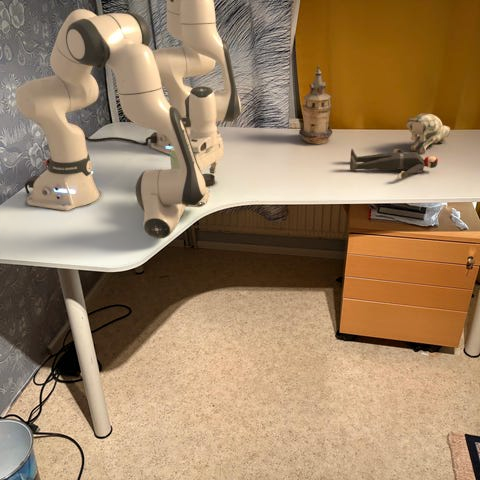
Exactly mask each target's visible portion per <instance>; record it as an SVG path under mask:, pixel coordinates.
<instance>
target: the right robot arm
mask: <svg viewBox="0 0 480 480" xmlns="http://www.w3.org/2000/svg"><path fill="white" fill-rule="evenodd" d="M215 9H216V7H215V3H214V0H166V30H167V32H168V34H169V35H170V36H171V37H172V38H174V39H175V40H178V41H180V42H181V45H179V46H170V47H160V48H157V49H154V50H151V51H152V53H153V55H154V58H155V61H156V64H157V67H158V71H159V75H160V79H161V84H162V87H164V89H165V90H166V93H167V96H168V103H169V104H170V105H171V106H172V107H174V108H176V109H177V110H178V111H179V113H180V115H181V117H182V119H183V122H184V125H185V127H186V130H187V133H188V136H189V139H190V142H191V145H192V148H193V151H194V155H195V158H196V161H197V163H198V166H199V168H200V170H201V172H202V171H203V170H205V169H206V168H208V167H209V174H212V175H214V174H216V173H217V166H218V163H219V160H220V159H221V158H223V157H224V154H225V148H224V139H223V138H222V135H221V133H220V132H219V131H218V127H217V122H224V123H225V122H227V123H233V122H234V121H236V120H237V119H238V118H240V116H241V112H242V102H241V99H240V96H239V93H238V89H237V85H236V79H235V74H234V68H233V63H232V59H231V55H230V49H229V46H228V44H227V42H226V40H224V39H222V38H221V36H220V34H219V32H218V29H217V23H216V22H217V20H216V19H217V18H216V10H215ZM216 63H217V64H218V67H219V68H220V73H221V79H222V84H223V88H224V89H223V90H221V91H214V90H213V88H211V87H209V86H206V85H205V86H203V85H202V86H195V87H194V88H193V87H191V86H189V85H186V84H184V82H183V79H184V78H190V77H192V78H193V77H200V76H203V75H207V74H209V73H212V72H213V71H214V69H215V67H216ZM111 140H117V141H125V142H130V143H134V144H137V145H141V146H147V145H148V144H149V140H150V148H152V149H154V150H157V151H159V152H161V153H164V154H167V155H169V156H170V155H171V151H170V150H171V148H172V147H173V144H172V142H171V140H170V139H169V138H168V137H167V136H165V135H164V134H162V133H160V132H158V131H154V132H152V134H151V135H150V136H148V137H146V138H145V142H144V143H143V142H139V141H137V140H134V139H131V138H124V137H117V136H116V137H115V136H110V137H108V136H107V137H100V138H89V137H87V136H85V141H88V142H100V141H101V142H103V141H111Z"/></svg>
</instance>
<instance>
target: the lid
mask: <svg viewBox="0 0 480 480" xmlns="http://www.w3.org/2000/svg"><path fill="white" fill-rule="evenodd" d="M202 175H203V178H204V181H205V186H206V187H207V188H208V187H212V186H214V185H215V184H216V178H215V175H214V174H212V173H202Z"/></svg>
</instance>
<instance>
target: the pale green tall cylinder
mask: <svg viewBox="0 0 480 480" xmlns="http://www.w3.org/2000/svg"><path fill="white" fill-rule="evenodd" d="M170 151H171V155H169V158H170V159H169V160H170V169H179V168H180V165H179V162H178V159H177V156H176V153H175V150H174V147H172V148H171V150H170Z"/></svg>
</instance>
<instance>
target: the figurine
mask: <svg viewBox="0 0 480 480" xmlns="http://www.w3.org/2000/svg"><path fill="white" fill-rule="evenodd" d="M406 128H407V129H408V130H409V132H410V133H411V137H410V140H411V141H413V142H414V143H413V144H412V145H411V146H410V151H412V152H416V151H417V150H418V146H419V145H420V144H421V143H422V145H421V146H420V148H419V152H420V153H421V154H425V153H426V149H427V148H428V147H429V145H431V144H438V142H439V143H440V142H442V143H443V142H444V143H445V142H446V139H447V138H448V136H450V130H451V128H450V126H447V125H444V124H443V122H442V120H441V119H440V118H439V117H438V116H436V115H434V114H432V113H420V114H417V115H416V116H415V117H414V118H408V120H407V122H406Z"/></svg>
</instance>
